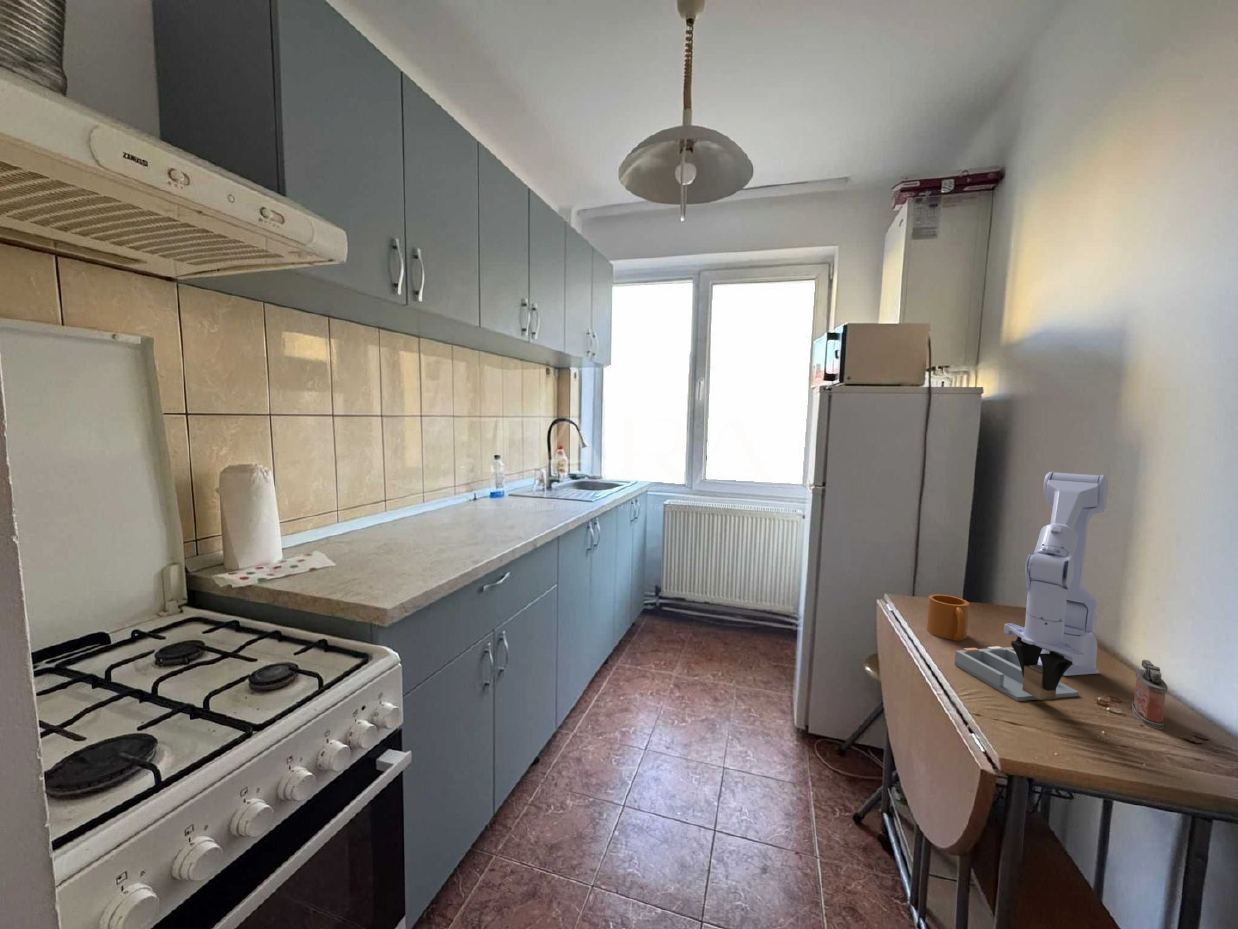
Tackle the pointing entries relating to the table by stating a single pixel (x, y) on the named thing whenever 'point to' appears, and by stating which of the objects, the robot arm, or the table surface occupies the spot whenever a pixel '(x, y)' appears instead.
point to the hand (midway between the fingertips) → (1038, 684)
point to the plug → (1036, 683)
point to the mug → (947, 617)
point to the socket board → (1001, 671)
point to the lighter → (1149, 695)
